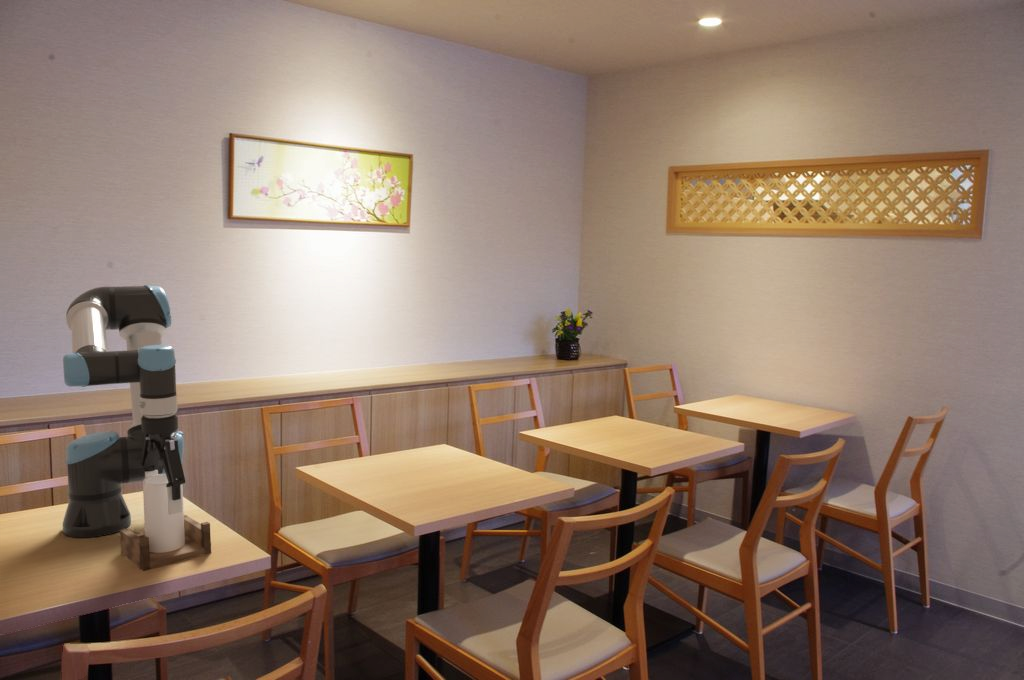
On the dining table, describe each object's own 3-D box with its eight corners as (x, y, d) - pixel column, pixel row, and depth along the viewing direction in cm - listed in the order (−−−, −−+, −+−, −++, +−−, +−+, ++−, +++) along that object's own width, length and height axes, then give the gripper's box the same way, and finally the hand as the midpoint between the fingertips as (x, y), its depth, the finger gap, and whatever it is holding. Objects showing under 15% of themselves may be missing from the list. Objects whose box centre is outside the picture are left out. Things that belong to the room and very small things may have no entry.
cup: (160, 555, 177) (157, 485, 175) (138, 548, 181) (134, 479, 179) (192, 544, 184) (189, 476, 182) (170, 537, 188) (167, 471, 186)
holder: (121, 553, 182) (119, 523, 181) (186, 536, 192) (185, 508, 192) (143, 570, 172) (141, 539, 171) (211, 552, 182) (209, 523, 182)
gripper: (122, 407, 185) (127, 495, 188) (163, 427, 167) (167, 523, 170) (155, 403, 190) (159, 488, 193) (198, 421, 172) (202, 515, 175)
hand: (163, 505), depth 181 cm, fingers open, 13 cm apart
